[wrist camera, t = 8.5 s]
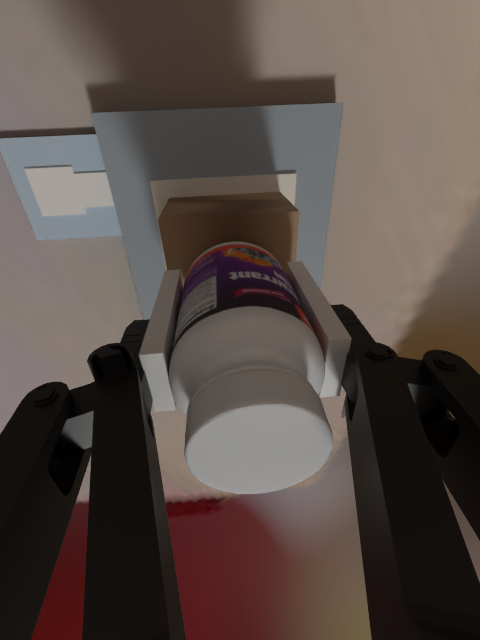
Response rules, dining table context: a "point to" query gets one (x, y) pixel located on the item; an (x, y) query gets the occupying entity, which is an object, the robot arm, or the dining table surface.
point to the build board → (217, 171)
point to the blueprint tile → (62, 185)
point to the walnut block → (227, 226)
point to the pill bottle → (247, 374)
